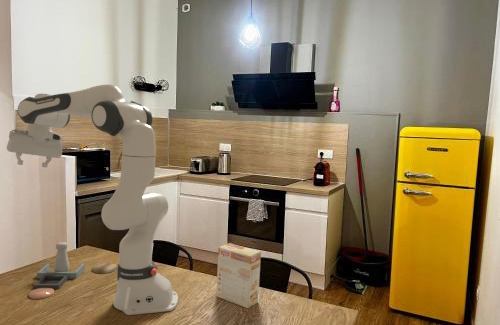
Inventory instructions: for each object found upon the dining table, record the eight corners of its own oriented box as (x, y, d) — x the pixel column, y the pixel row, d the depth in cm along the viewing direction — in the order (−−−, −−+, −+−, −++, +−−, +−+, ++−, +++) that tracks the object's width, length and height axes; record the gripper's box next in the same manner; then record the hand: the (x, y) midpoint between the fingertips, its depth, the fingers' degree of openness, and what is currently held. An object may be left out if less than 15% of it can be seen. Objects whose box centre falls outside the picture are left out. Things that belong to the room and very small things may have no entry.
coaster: (57, 289, 139) (57, 287, 139) (48, 299, 131) (48, 297, 131) (35, 289, 138) (35, 287, 138) (24, 299, 130) (24, 297, 130)
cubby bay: (47, 268, 157) (47, 263, 156) (84, 268, 158) (84, 263, 158) (36, 278, 147) (36, 272, 147) (76, 278, 149) (76, 273, 148)
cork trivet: (119, 265, 165) (119, 263, 165) (114, 274, 155) (114, 272, 155) (96, 265, 164) (96, 263, 164) (89, 274, 154) (89, 272, 154)
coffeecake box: (258, 302, 137) (261, 251, 135) (247, 309, 131) (250, 256, 129) (226, 290, 146) (229, 242, 144) (215, 296, 140) (217, 246, 138)
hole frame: (44, 278, 147) (44, 275, 146) (68, 278, 148) (68, 275, 148) (33, 288, 138) (33, 284, 138) (59, 288, 139) (59, 285, 139)
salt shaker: (64, 276, 150) (64, 245, 148) (50, 275, 150) (50, 244, 148) (71, 270, 155) (72, 241, 154) (58, 270, 156) (58, 240, 154)
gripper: (13, 128, 143) (6, 163, 142) (66, 137, 158) (60, 169, 158) (7, 127, 147) (1, 161, 146) (60, 136, 162) (54, 167, 162)
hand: (32, 165), depth 153 cm, fingers open, 8 cm apart
